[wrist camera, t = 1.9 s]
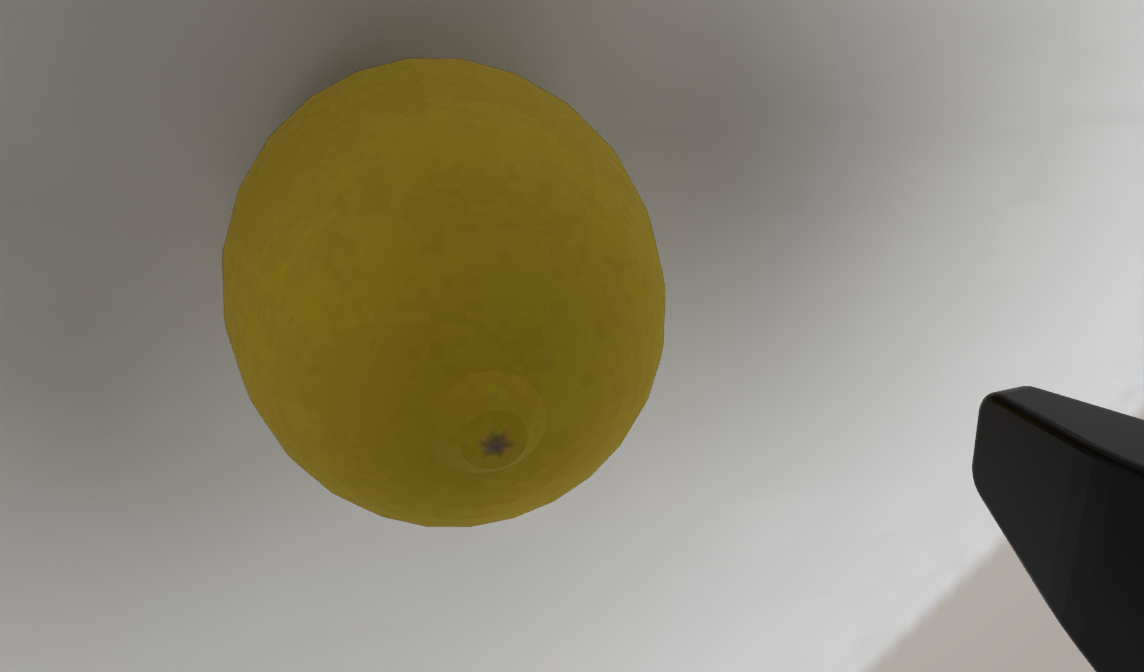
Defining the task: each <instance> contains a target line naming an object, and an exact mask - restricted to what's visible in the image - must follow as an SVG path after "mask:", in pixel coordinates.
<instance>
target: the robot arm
mask: <svg viewBox="0 0 1144 672" xmlns="http://www.w3.org/2000/svg"><path fill="white" fill-rule="evenodd" d="M972 472H973V479H974V483H975V486H976V488H977V491H978V493H979V495H980V496H981V498H982V500H983V501H984V503H985V504H986V506H987V508H988V509H989V511H990V513H991V514H992V516H993V517H994V519H995V521H996V522H997V524H998V526H999V527H1000V529H1001V530H1002V532H1003V534H1004V535H1005V537H1006V538H1007V540H1008V542H1009V543H1010V545H1011V547H1012V548H1013V550H1014V551H1015V553H1016V555H1017V556H1018V558H1019V559H1020V561H1021V563H1022V564H1023V566H1024V567H1025V569H1026V571H1027V572H1028V574H1029V575H1030V577H1031V579H1032V581H1033V582H1034V584H1035V585H1036V587H1037V589H1038V590H1039V592H1040V593H1041V595H1042V597H1043V598H1044V600H1045V601H1046V603H1047V605H1048V606H1049V608H1050V609H1051V611H1052V612H1053V614H1054V615H1055V617H1056V618H1057V620H1058V621H1059V623H1060V624H1061V626H1062V627H1063V628H1064V630H1065V631H1066V632H1067V634H1068V635H1069V637H1070V638H1071V639H1072V641H1073V642H1074V643H1075V645H1076V646H1077V648H1078V649H1079V650H1080V651H1081V653H1082V654H1083V655H1084V656H1085V658H1086V659H1087V661H1088V662H1089V663H1090V664H1091V666H1092V667H1093V668H1094V670H1095V671H1096V672H1144V420H1142V419H1139V418H1136V417H1132V416H1129V415H1126V414H1122V413H1119V412H1116V411H1112V410H1109V409H1106V408H1102V407H1099V406H1096V405H1092V404H1089V403H1086V402H1082V401H1079V400H1076V399H1072V398H1069V397H1065V396H1062V395H1059V394H1055V393H1052V392H1049V391H1045V390H1042V389H1039V388H1035V387H1031V386H1021V387H1016V388H1012V389H1007V390H1002V391H998V392H993V393H990V394H989V395H987V396H986V397H985V398H984V399H983V401H982V403H981V405H980V409H979V415H978V423H977V431H976V439H975V447H974V455H973V462H972Z"/></svg>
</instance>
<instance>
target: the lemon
mask: <svg viewBox="0 0 1144 672" xmlns="http://www.w3.org/2000/svg"><path fill="white" fill-rule="evenodd" d="M222 270H223V301H224V319H225V325H226V330H227V333H228V336H229V340H230V343H231V346H232V349H233V352H234V355H235V358H236V361H237V364H238V367H239V370H240V373H241V376H242V379H243V381H244V384H245V387H246V390H247V392H248V394H249V397H250V399H251V401H252V403H253V404H254V406H255V407H256V409H257V411H258V412H259V414H260V415H261V417H262V418H263V419H264V421H265V422H266V424H267V425H268V427H269V428H270V430H271V431H272V433H273V434H274V436H275V437H276V438H277V440H278V441H279V443H280V444H281V446H282V447H283V449H284V450H285V452H286V453H287V454H288V455H289V456H290V457H291V458H292V459H293V460H294V461H295V462H296V463H297V464H298V465H300V466H301V467H302V468H303V469H304V470H305V471H307V472H308V473H309V474H310V475H311V476H313V477H314V478H315V479H316V480H317V481H319V482H320V483H321V484H322V485H323V486H325V487H326V488H327V489H328V490H329V491H330V492H332V493H333V494H335V495H337V496H339V497H341V498H344V499H346V500H348V501H350V502H352V503H354V504H356V505H358V506H360V507H362V508H365V509H367V510H369V511H371V512H373V513H375V514H378V515H380V516H383V517H386V518H391V519H395V520H399V521H404V522H408V523H413V524H417V525H422V526H426V527H472V526H477V525H482V524H487V523H492V522H496V521H501V520H506V519H511V518H515V517H517V516H520V515H522V514H524V513H527V512H529V511H532V510H534V509H536V508H539V507H541V506H544V505H546V504H548V503H551V502H553V501H555V500H557V499H558V498H560V497H561V496H562V495H564V494H565V493H567V492H568V491H570V490H571V489H573V488H574V487H576V486H577V485H579V484H580V483H582V482H583V481H585V480H586V479H588V478H589V477H590V476H591V475H592V474H593V473H594V472H595V471H596V470H597V469H598V468H599V467H600V466H601V465H602V464H603V463H604V462H605V461H606V460H607V459H608V458H609V456H610V455H611V454H612V453H613V452H614V451H615V450H616V449H617V448H618V447H619V446H620V444H621V443H622V441H623V440H624V438H625V436H626V435H627V433H628V431H629V430H630V428H631V426H632V425H633V423H634V421H635V420H636V418H637V416H638V415H639V413H640V411H641V410H642V408H643V406H644V405H645V403H646V401H647V400H648V397H649V394H650V390H651V387H652V384H653V381H654V378H655V374H656V371H657V368H658V365H659V362H660V358H661V354H662V349H663V341H664V314H665V284H664V278H663V272H662V268H661V264H660V259H659V255H658V251H657V247H656V242H655V238H654V234H653V230H652V225H651V222H650V219H649V215H648V212H647V210H646V208H645V206H644V204H643V202H642V200H641V198H640V196H639V194H638V192H637V190H636V189H635V187H634V185H633V183H632V181H631V180H630V178H629V176H628V174H627V172H626V170H625V169H624V167H623V165H622V163H621V161H620V159H619V158H618V156H617V155H616V153H615V152H614V150H613V149H612V148H611V146H610V145H609V144H608V143H607V142H606V141H605V140H604V139H603V138H602V137H601V136H600V135H599V134H598V133H597V132H596V131H595V130H594V129H593V128H592V127H591V126H590V125H589V124H588V123H587V122H586V121H585V120H584V119H583V118H582V117H581V116H580V115H579V114H578V113H577V112H576V111H575V110H574V109H573V108H572V107H571V106H569V105H568V104H567V103H565V102H564V101H562V100H560V99H558V98H557V97H555V96H553V95H552V94H550V93H548V92H546V91H545V90H543V89H541V88H539V87H538V86H536V85H534V84H532V83H531V82H529V81H527V80H526V79H524V78H522V77H520V76H519V75H517V74H515V73H511V72H507V71H504V70H500V69H496V68H493V67H489V66H485V65H482V64H478V63H475V62H471V61H467V60H463V59H414V58H408V59H404V60H400V61H396V62H392V63H388V64H384V65H380V66H376V67H372V68H368V69H364V70H360V71H357V72H355V73H353V74H351V75H350V76H348V77H346V78H344V79H342V80H340V81H339V82H337V83H335V84H333V85H331V86H329V87H328V88H326V89H324V90H322V91H320V92H318V93H317V94H315V95H313V96H311V97H310V98H309V99H308V100H307V101H306V102H305V103H304V104H303V105H302V106H301V107H300V108H299V109H298V110H297V111H296V112H294V113H293V114H292V115H291V116H290V117H289V118H288V119H287V120H286V121H285V122H284V123H283V124H282V125H281V126H280V127H279V128H278V129H277V130H276V131H275V132H274V133H273V134H272V135H271V136H270V137H269V138H268V140H267V142H266V143H265V145H264V147H263V148H262V150H261V152H260V154H259V155H258V157H257V159H256V160H255V162H254V164H253V165H252V167H251V169H250V171H249V172H248V174H247V176H246V177H245V179H244V181H243V182H242V184H241V186H240V188H239V190H238V194H237V198H236V202H235V205H234V209H233V213H232V217H231V221H230V224H229V228H228V232H227V236H226V239H225V243H224V248H223V256H222Z"/></svg>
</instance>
